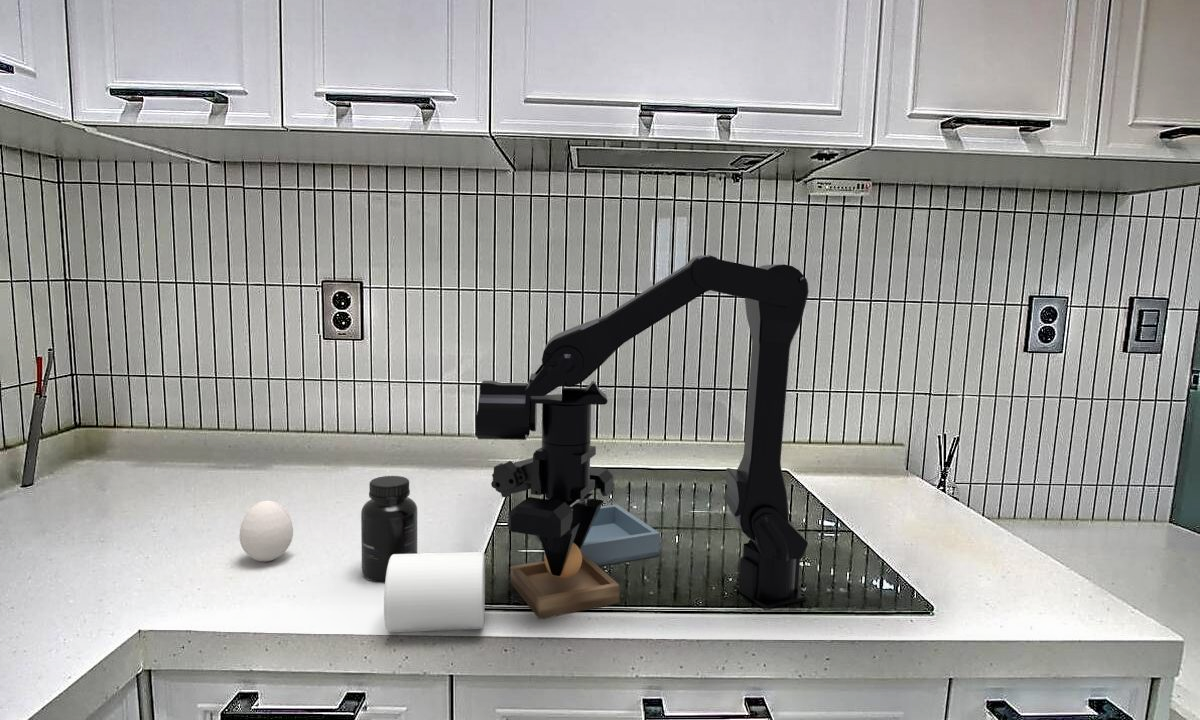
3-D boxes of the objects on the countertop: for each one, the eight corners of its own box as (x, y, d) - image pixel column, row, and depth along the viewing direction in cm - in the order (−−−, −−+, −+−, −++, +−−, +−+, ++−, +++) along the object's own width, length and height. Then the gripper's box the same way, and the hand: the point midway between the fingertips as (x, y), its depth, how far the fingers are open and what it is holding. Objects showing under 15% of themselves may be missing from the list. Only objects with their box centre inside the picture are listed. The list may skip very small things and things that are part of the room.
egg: (284, 546, 99) (282, 490, 98) (301, 561, 94) (299, 502, 93) (234, 558, 95) (231, 500, 94) (249, 574, 90) (247, 513, 89)
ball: (572, 566, 90) (573, 532, 89) (587, 581, 86) (588, 545, 85) (538, 572, 88) (539, 537, 87) (552, 587, 84) (553, 550, 83)
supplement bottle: (352, 581, 89) (349, 486, 87) (376, 559, 95) (374, 471, 94) (405, 585, 88) (404, 490, 86) (426, 563, 95) (425, 474, 93)
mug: (482, 642, 75) (482, 569, 74) (384, 647, 74) (382, 572, 73) (486, 591, 87) (486, 528, 86) (401, 594, 86) (400, 530, 85)
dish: (616, 524, 110) (617, 504, 110) (659, 555, 99) (659, 533, 98) (536, 536, 105) (537, 515, 104) (572, 570, 93) (572, 547, 93)
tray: (584, 570, 93) (584, 554, 93) (619, 603, 85) (619, 585, 84) (510, 583, 89) (510, 566, 89) (539, 619, 80) (539, 600, 80)
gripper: (536, 419, 96) (535, 531, 98) (465, 451, 78) (465, 588, 80) (616, 426, 92) (613, 543, 94) (559, 462, 75) (557, 605, 77)
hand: (564, 567), depth 86 cm, fingers closed on ball, 4 cm apart
